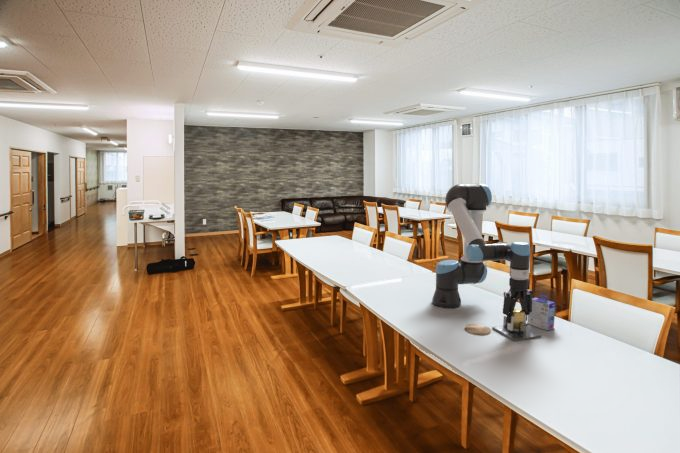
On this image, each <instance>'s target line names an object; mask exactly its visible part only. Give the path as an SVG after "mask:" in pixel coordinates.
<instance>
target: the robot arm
mask: <svg viewBox="0 0 680 453" xmlns="http://www.w3.org/2000/svg"><path fill="white" fill-rule="evenodd" d="M492 195H493V194H492V191H491V189H490V187H489V186H488V185H487V184H484V183H463V184H462V183H460V184H455V185H453V186H451V187H450V188H449V190H448V191H447V193H446V195H445V206H446V209H447V210H448V212H450V213H451V214H452V217H453V218H454V220H455V222H456V224H457V226H458V228H459V230H460V233H461V235H462V237H463V238H464V244H463V255H462V257H460V262H459V261H458V260H456V259H445V260H441V261H439V262H437V264H436V266H435V290H434V293H433V296H432V298H431V299H432V300H431V303H432V304H433V305H434V306H437V307H440V308H444V309H445V308H448V309H453V308H458V307H461V306H462V300H461V296H460V293H459V285H469V284H470V285H475V284H481V283H483V282H484V281H485V280H486V278H487V276H488V267H487V264H486V263H485V262H486V261H489V262H490V261H492V262H493V261H507V262H509V265H510V266H509V283H508V284H509V290H508V291H504V292H503V297H504V298H503V306H502V314H503V315H507V323H508V325H507V329H509V330H511V331H513V322H514V316H512V314H513V311H514V309H516V306H517V305H516V304H517V303H518V300H519V302H520V303H519V305H520V307H521V309H520V310H523V311H525V321H524V323H526V324H527V322H528V315H529V314H530V313H531V312H532V298H533V294H534V291H533V290H531V289H528V288H529V282H530V281H529V278H530V277H529V276H530V275H529V274H530V261H531V260H530V259H531V258H530V257H531V245H530V244H529V243H528V242H525V241H513V242H511V243H509V242H505V241H498V242H496V243H486V241H485V240H484V238H483V236H482V234H483V217H484V212H486V211H487V207H489V206H490V205H491V203H492V200H493V197H492ZM529 312H530V313H529Z"/></svg>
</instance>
